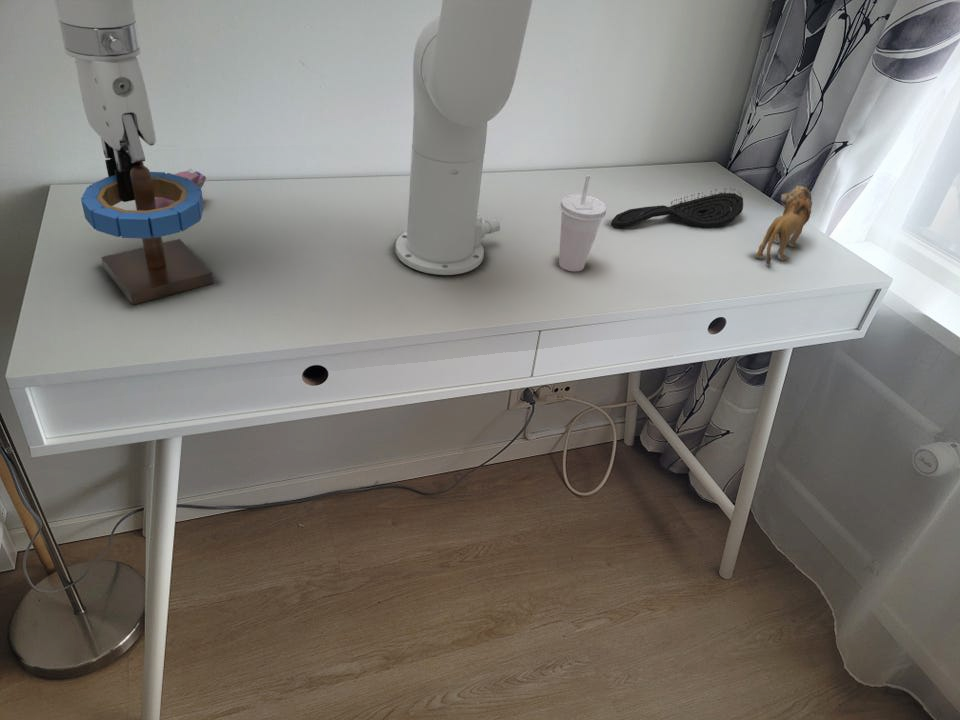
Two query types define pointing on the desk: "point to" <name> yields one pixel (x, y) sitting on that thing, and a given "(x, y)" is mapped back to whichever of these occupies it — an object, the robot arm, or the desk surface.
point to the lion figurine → (788, 222)
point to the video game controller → (189, 174)
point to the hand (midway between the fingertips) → (129, 192)
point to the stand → (154, 257)
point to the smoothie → (579, 227)
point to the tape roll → (144, 223)
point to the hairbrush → (689, 211)
